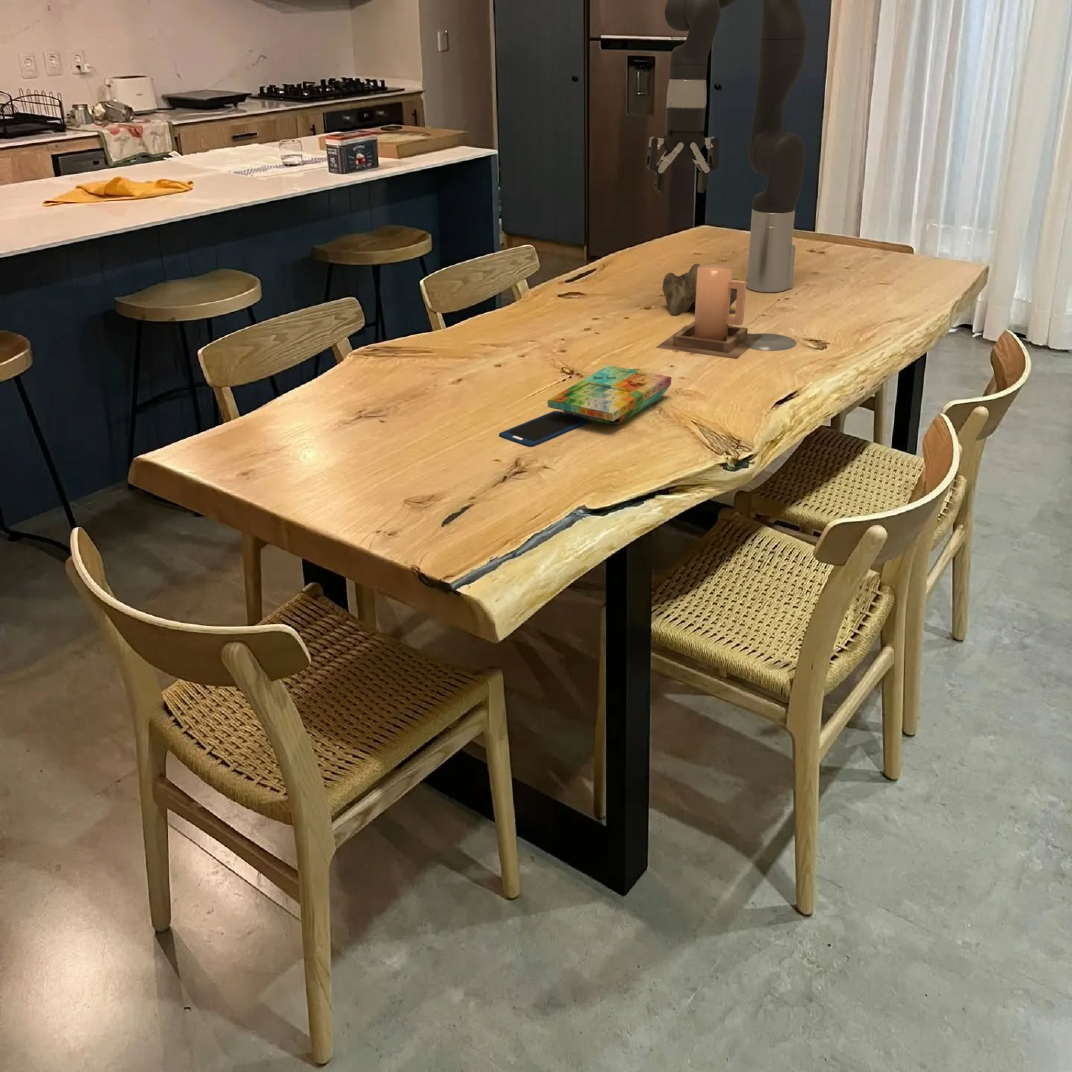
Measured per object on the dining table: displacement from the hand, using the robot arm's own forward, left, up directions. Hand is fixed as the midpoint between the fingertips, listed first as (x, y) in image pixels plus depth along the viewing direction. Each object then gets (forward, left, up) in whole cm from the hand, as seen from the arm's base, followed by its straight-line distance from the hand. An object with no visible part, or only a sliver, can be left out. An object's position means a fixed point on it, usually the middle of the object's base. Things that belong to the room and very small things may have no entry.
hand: (680, 192), depth 214 cm
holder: (+2, +22, -25) cm, 33 cm away
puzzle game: (+32, +48, -25) cm, 63 cm away
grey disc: (-8, +26, -25) cm, 36 cm away
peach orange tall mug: (+1, +23, -24) cm, 33 cm away
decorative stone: (-6, 0, -25) cm, 26 cm away
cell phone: (+45, +53, -25) cm, 74 cm away
